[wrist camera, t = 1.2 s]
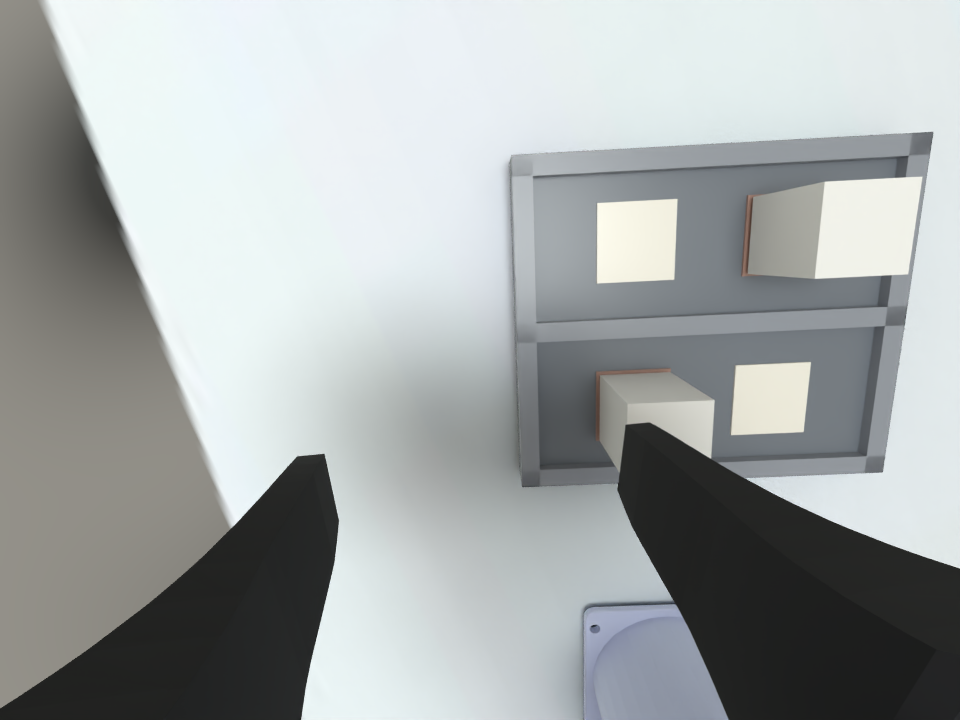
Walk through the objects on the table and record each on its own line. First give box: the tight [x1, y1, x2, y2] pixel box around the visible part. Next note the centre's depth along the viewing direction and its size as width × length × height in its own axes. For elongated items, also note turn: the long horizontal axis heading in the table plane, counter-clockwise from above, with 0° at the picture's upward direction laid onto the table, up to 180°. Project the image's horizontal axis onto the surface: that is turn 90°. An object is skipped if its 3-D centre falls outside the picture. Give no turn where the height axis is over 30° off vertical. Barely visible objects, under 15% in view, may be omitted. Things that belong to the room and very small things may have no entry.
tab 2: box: [748, 176, 923, 279], centre depth 17 cm, size 3×3×4 cm
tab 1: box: [600, 372, 715, 473], centre depth 19 cm, size 3×3×4 cm
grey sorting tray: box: [510, 132, 933, 487], centre depth 20 cm, size 14×16×2 cm
